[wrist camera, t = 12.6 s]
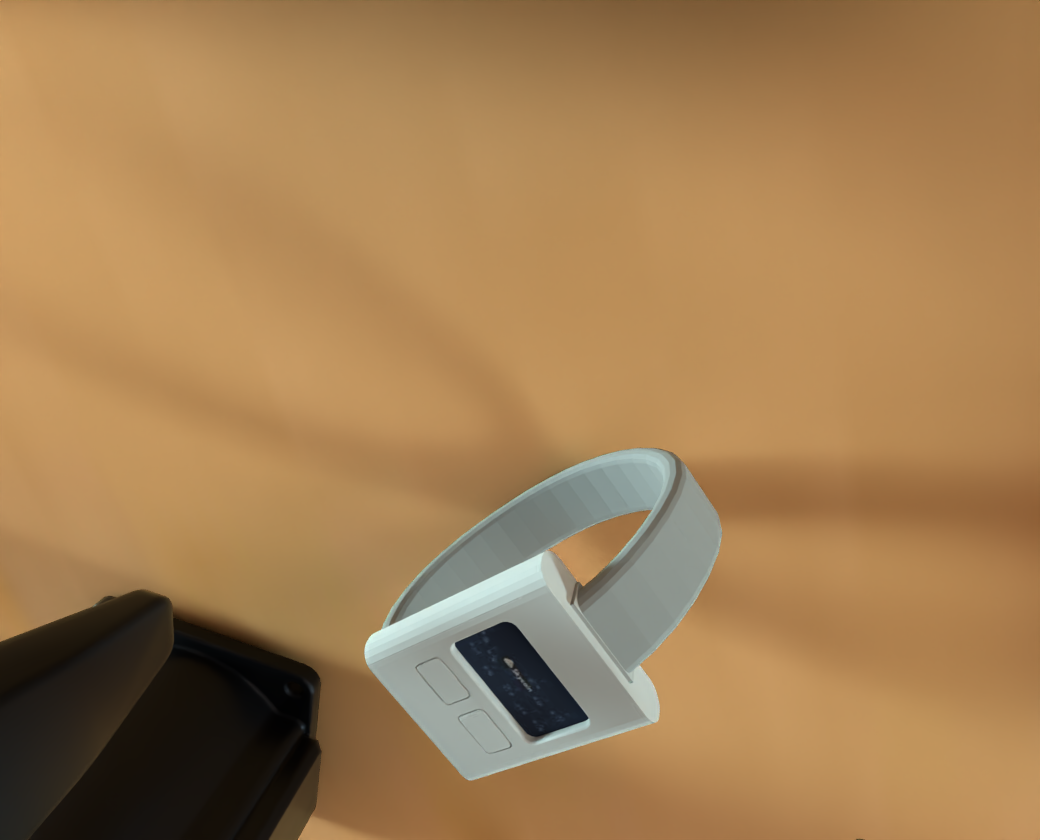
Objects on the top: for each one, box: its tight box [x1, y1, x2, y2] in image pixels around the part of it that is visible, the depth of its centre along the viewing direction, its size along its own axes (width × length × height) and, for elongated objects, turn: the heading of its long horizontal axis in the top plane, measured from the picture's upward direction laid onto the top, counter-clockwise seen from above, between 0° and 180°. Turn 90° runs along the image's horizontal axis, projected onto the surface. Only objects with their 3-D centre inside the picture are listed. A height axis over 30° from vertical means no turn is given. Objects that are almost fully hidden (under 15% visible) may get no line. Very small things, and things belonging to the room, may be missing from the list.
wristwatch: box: [364, 448, 722, 781], centre depth 11 cm, size 6×3×5 cm, turn 126°
